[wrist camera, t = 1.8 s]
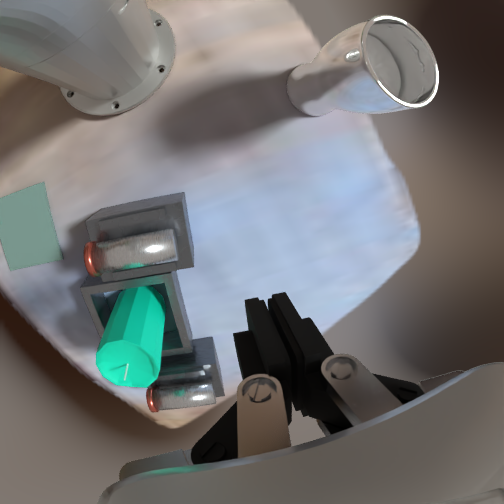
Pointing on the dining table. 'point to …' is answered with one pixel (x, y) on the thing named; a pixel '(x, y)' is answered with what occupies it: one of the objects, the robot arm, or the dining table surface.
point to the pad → (28, 228)
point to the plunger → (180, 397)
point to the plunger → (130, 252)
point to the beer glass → (367, 71)
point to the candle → (133, 338)
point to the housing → (175, 342)
